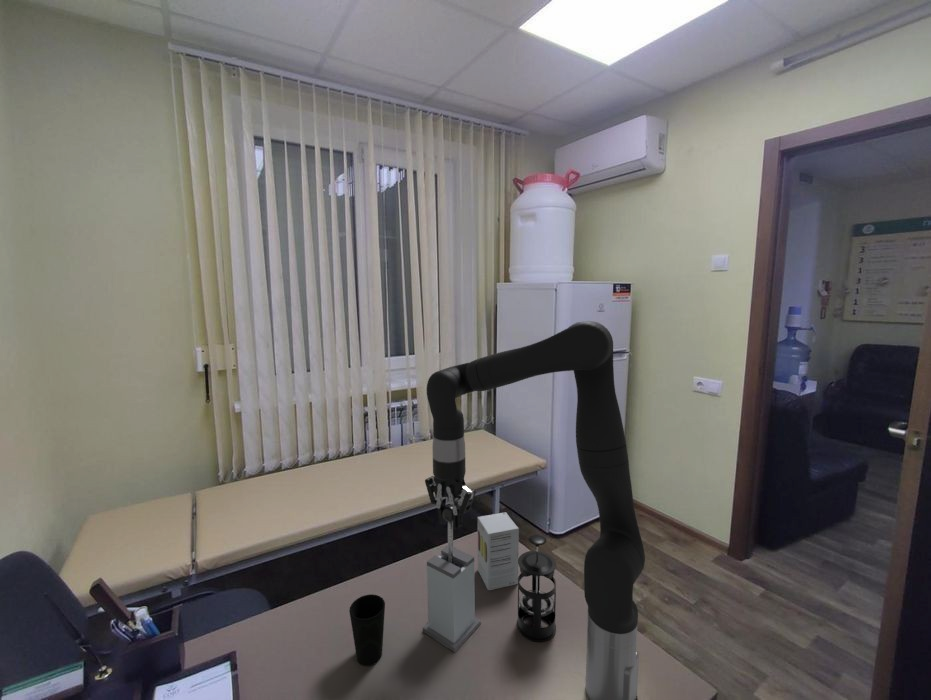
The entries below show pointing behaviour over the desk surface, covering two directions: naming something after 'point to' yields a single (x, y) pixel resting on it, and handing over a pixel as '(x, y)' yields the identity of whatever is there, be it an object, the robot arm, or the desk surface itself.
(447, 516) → the plunger
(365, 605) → the cup
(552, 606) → the french press
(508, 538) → the supplement box
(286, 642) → the desk surface
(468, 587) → the slotted square pillar
